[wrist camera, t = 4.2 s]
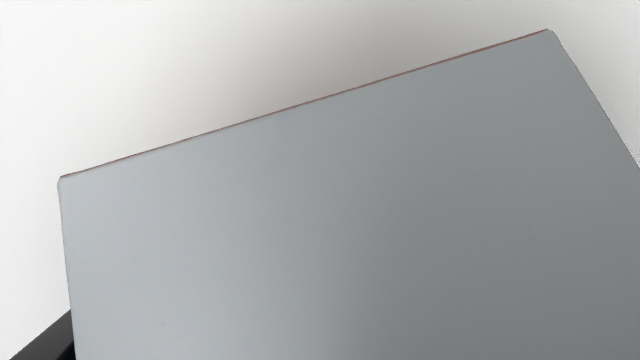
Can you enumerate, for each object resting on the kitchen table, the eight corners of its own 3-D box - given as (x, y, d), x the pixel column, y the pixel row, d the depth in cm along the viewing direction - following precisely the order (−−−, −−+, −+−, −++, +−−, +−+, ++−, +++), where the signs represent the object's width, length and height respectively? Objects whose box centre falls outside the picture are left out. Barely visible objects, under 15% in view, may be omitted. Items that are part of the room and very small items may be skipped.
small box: (419, 201, 16) (565, 13, 6) (480, 346, 14) (820, 405, 4) (224, 264, 16) (37, 166, 6) (262, 423, 14) (89, 698, 4)
